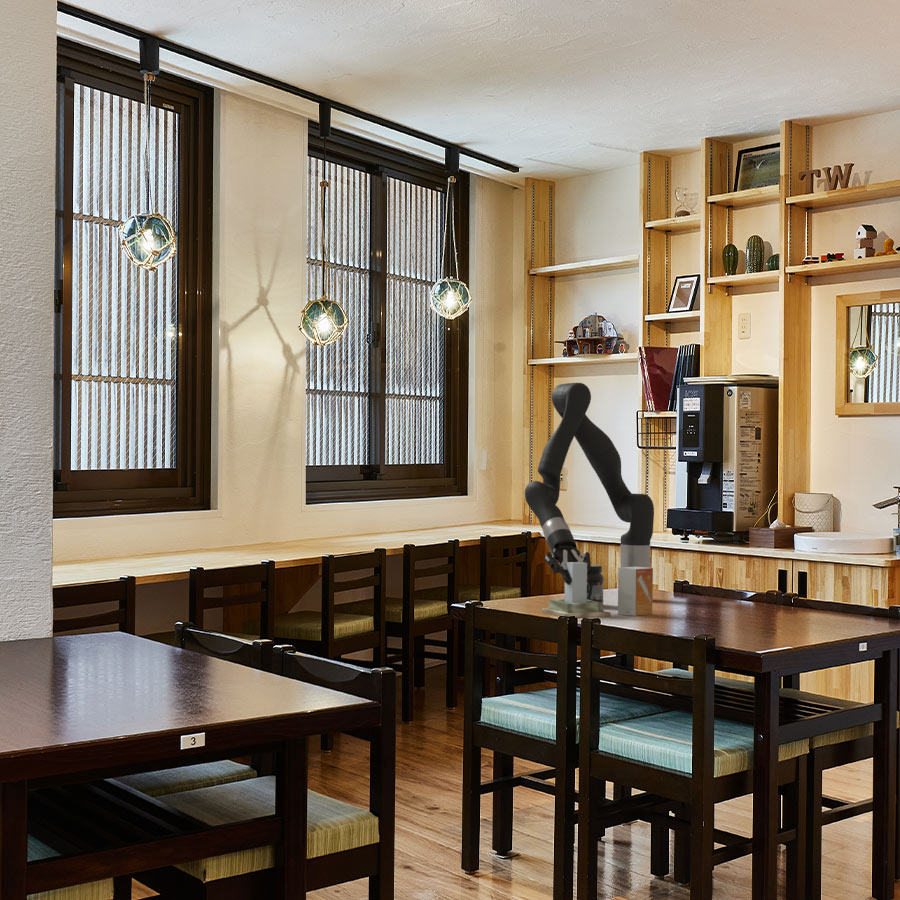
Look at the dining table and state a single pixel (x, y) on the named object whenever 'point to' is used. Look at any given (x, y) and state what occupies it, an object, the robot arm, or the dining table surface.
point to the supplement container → (595, 583)
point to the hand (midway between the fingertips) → (578, 582)
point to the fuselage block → (576, 583)
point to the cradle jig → (576, 609)
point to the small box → (635, 591)
